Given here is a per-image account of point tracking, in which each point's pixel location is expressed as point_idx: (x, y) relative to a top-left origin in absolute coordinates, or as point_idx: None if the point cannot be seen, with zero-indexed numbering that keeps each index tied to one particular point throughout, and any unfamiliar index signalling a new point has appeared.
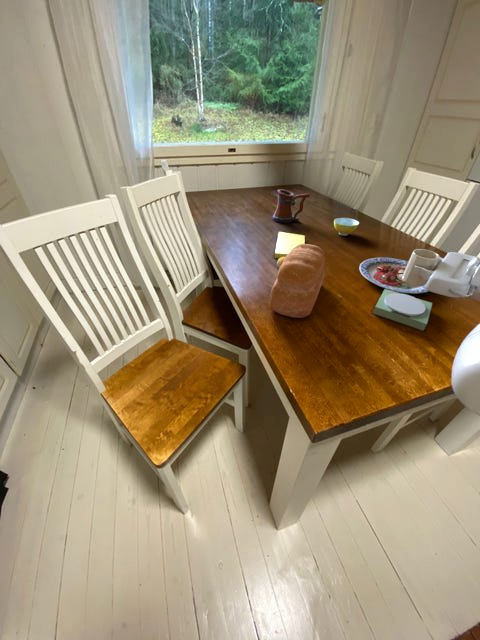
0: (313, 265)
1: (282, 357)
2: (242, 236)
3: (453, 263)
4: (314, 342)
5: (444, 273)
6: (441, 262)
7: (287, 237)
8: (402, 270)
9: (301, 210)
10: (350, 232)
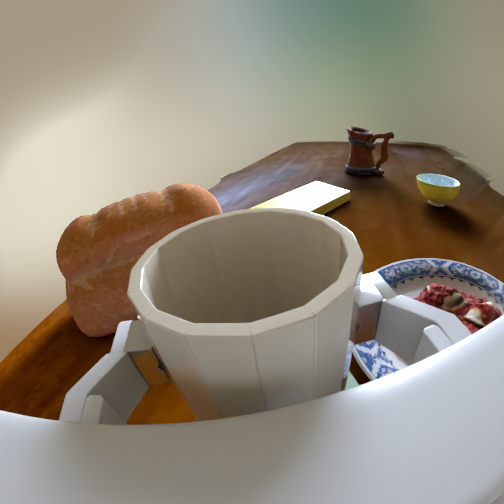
0: (98, 227)
1: (6, 364)
2: (264, 184)
3: (426, 477)
4: (41, 381)
5: (18, 482)
6: (315, 400)
7: (314, 189)
8: (476, 312)
9: (384, 158)
10: (443, 201)
